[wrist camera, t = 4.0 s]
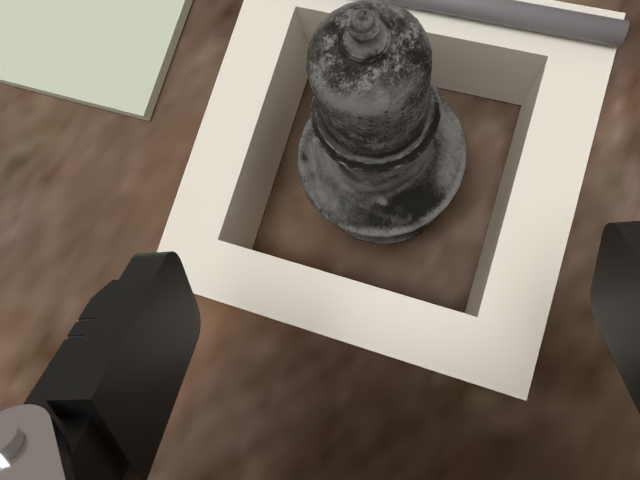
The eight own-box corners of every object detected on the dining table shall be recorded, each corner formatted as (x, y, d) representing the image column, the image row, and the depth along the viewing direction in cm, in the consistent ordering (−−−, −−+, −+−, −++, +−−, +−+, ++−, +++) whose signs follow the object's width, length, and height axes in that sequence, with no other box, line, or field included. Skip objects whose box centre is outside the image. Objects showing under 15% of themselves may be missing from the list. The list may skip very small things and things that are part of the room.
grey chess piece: (349, 94, 23) (293, -155, 11) (479, 144, 21) (574, -76, 10) (290, 217, 22) (165, 94, 10) (420, 275, 21) (443, 210, 9)
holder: (192, 286, 22) (136, 276, 18) (284, 11, 24) (256, -67, 19) (501, 386, 20) (533, 404, 15) (583, 71, 21) (635, -2, 16)
